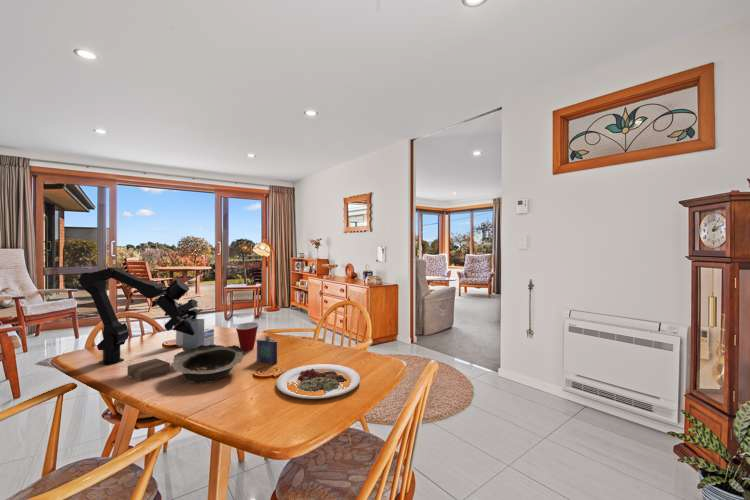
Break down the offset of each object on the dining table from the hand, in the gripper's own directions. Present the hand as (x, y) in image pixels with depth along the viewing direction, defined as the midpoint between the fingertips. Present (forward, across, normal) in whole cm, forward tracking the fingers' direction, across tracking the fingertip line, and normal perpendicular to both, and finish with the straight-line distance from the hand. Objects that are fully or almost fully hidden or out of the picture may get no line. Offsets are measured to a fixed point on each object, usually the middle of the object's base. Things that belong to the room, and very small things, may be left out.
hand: (197, 332), depth 140 cm
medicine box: (+6, +18, +12) cm, 22 cm away
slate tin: (+4, 0, +6) cm, 7 cm away
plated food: (+47, -25, -30) cm, 61 cm away
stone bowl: (+17, -17, 0) cm, 24 cm away
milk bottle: (-3, +24, +20) cm, 32 cm away
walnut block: (+1, -14, +17) cm, 22 cm away
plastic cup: (+20, +15, -3) cm, 26 cm away
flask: (+30, -3, -13) cm, 33 cm away
